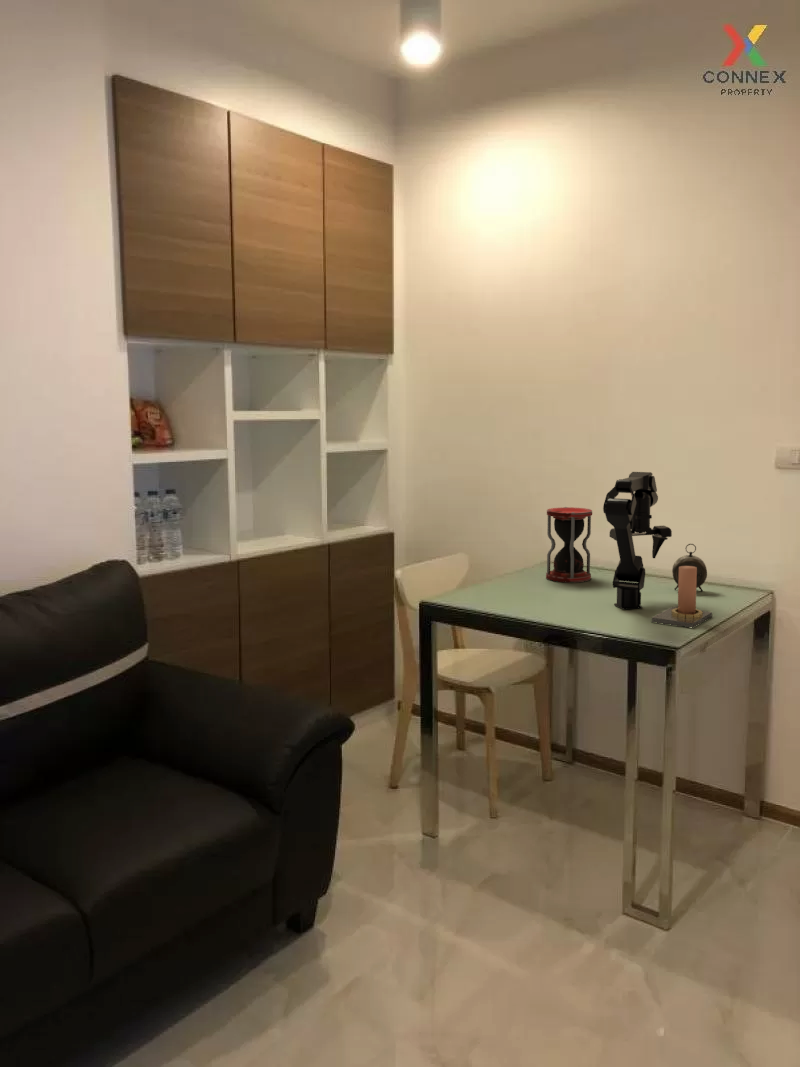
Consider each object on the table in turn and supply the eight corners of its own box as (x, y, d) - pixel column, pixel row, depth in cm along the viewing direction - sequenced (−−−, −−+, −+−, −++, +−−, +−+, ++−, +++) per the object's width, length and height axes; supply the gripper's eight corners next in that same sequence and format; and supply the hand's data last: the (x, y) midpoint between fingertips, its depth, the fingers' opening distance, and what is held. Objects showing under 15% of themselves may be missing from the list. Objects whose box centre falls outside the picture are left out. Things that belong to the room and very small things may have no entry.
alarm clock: (705, 590, 297) (707, 542, 294) (706, 593, 291) (708, 545, 289) (671, 589, 299) (673, 541, 297) (672, 592, 294) (673, 544, 292)
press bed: (692, 628, 249) (692, 619, 248) (651, 622, 256) (651, 614, 256) (711, 617, 261) (712, 608, 261) (672, 611, 269) (672, 603, 268)
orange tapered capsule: (677, 616, 257) (678, 568, 255) (677, 611, 262) (678, 565, 260) (695, 616, 256) (696, 569, 253) (695, 612, 260) (696, 566, 258)
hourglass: (542, 574, 327) (543, 507, 324) (586, 573, 327) (587, 506, 323) (549, 583, 311) (550, 513, 308) (595, 582, 311) (596, 512, 307)
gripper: (658, 505, 290) (657, 552, 293) (603, 508, 288) (603, 555, 291) (672, 511, 279) (671, 559, 282) (616, 514, 277) (615, 562, 280)
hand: (640, 559), depth 284 cm, fingers open, 9 cm apart
